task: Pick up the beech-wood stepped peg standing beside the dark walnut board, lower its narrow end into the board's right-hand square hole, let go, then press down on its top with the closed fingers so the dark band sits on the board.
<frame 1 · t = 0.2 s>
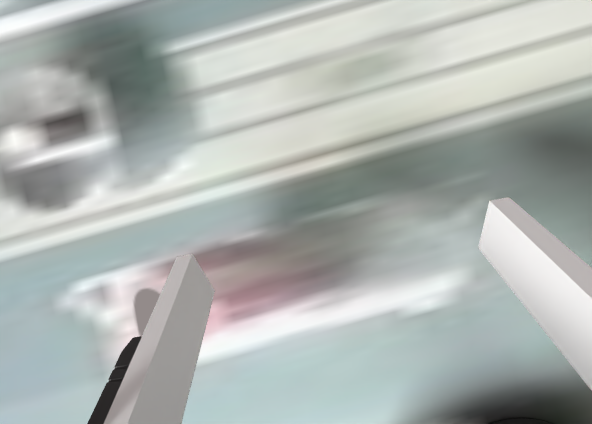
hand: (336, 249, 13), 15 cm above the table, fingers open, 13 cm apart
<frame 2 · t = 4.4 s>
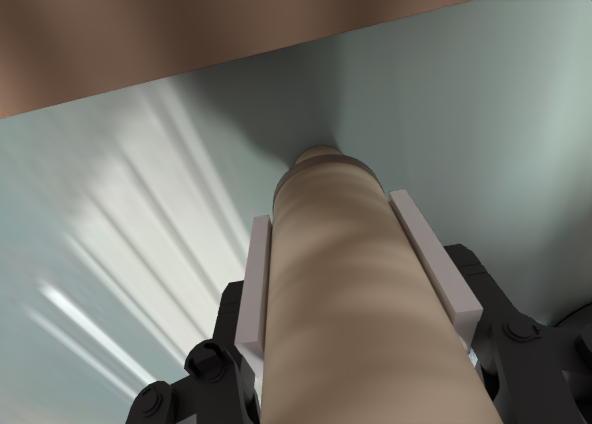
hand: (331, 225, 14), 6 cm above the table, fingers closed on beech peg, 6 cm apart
beech peg: (320, 170, 19), on the table, touching gripper
when the fingers open (8 cm above the table, at t = 9.4 s): beech peg drops 2 cm, resting on walnut board.
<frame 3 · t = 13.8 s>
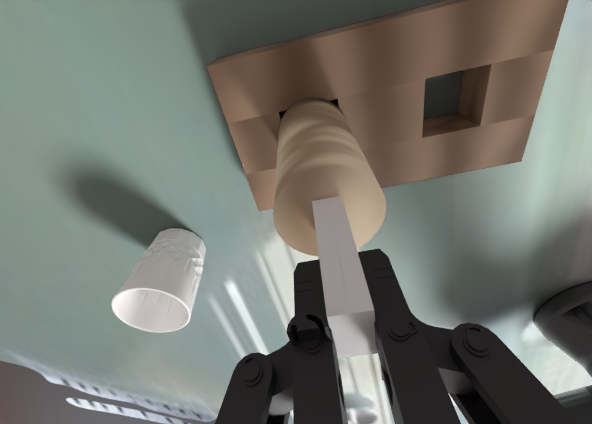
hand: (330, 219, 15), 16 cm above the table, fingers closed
walnut board: (370, 105, 27), on the table
white cup: (181, 245, 38), on the table
beech peg: (309, 119, 28), resting on walnut board, touching gripper
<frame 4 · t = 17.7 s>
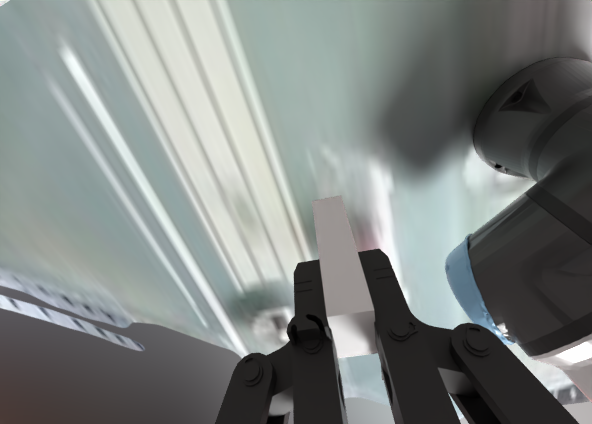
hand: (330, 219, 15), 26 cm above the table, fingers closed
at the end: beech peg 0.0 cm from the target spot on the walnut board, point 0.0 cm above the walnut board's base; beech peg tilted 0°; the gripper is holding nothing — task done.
